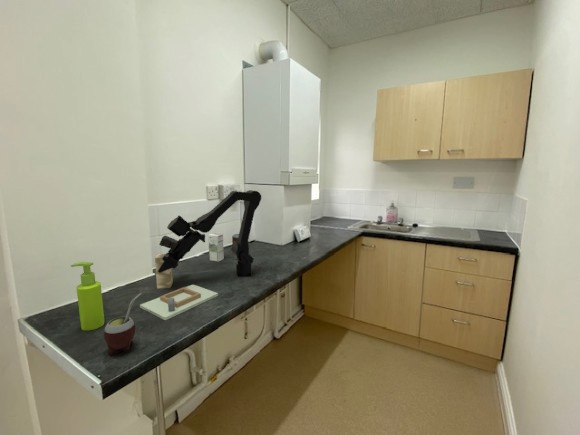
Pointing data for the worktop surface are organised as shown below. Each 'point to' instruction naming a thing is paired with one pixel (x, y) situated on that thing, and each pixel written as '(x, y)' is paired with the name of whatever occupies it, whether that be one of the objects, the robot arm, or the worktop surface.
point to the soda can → (235, 237)
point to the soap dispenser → (89, 299)
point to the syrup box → (216, 247)
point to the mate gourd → (120, 332)
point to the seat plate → (178, 301)
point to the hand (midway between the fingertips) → (160, 269)
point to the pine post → (163, 274)
